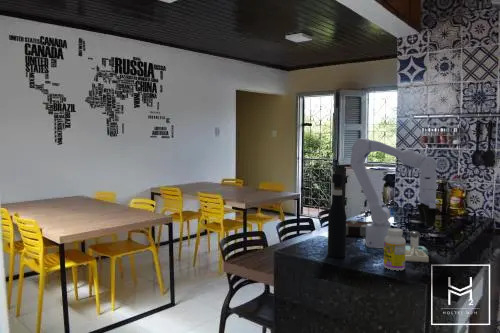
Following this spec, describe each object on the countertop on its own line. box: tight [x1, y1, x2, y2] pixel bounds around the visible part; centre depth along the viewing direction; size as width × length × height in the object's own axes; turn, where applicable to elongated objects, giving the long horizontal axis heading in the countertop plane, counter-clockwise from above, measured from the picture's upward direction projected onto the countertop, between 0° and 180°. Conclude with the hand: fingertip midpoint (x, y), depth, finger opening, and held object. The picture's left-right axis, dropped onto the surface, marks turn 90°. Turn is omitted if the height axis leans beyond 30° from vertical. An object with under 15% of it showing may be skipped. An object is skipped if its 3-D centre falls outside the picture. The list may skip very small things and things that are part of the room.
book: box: [346, 219, 372, 238], centre depth 181 cm, size 15×25×5 cm, turn 75°
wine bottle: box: [327, 173, 347, 258], centre depth 143 cm, size 6×6×30 cm
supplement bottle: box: [383, 227, 407, 272], centre depth 129 cm, size 7×7×13 cm
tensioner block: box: [405, 245, 429, 256], centre depth 148 cm, size 8×6×2 cm
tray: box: [405, 250, 430, 263], centre depth 140 cm, size 8×8×2 cm
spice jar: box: [409, 230, 420, 256], centre depth 140 cm, size 3×3×9 cm
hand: (426, 224), depth 149 cm, fingers open, 7 cm apart
